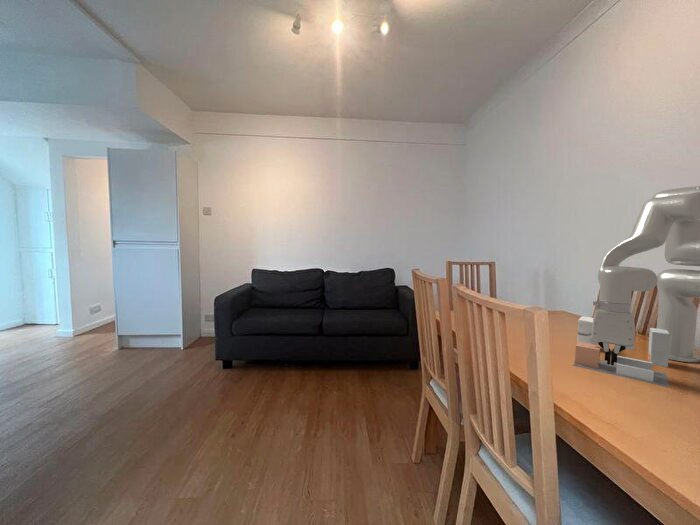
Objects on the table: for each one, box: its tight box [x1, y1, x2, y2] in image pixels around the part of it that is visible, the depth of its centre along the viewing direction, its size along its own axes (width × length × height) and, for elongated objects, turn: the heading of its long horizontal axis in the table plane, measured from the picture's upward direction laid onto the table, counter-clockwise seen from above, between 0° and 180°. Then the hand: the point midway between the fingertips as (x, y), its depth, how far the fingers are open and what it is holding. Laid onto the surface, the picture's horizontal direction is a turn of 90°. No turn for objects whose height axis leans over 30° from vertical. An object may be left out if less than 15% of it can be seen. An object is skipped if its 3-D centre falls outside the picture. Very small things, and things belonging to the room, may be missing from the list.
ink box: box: [576, 315, 597, 345], centre depth 116 cm, size 9×5×12 cm, turn 133°
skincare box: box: [647, 327, 670, 368], centre depth 100 cm, size 6×4×12 cm
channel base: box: [572, 355, 671, 388], centre depth 95 cm, size 12×22×4 cm, turn 47°
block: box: [574, 341, 601, 368], centre depth 100 cm, size 6×6×6 cm
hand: (610, 363), depth 96 cm, fingers closed
